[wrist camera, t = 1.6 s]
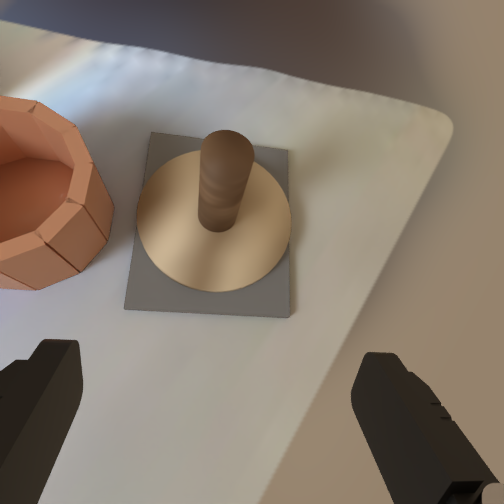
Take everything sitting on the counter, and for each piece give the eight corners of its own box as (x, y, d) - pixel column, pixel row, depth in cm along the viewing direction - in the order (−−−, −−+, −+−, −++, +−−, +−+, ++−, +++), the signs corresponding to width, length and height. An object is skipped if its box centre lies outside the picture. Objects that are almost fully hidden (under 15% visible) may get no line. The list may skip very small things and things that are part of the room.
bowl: (-77, 283, 22) (-171, 255, 16) (-26, 145, 25) (-87, 83, 20) (98, 294, 23) (69, 271, 18) (122, 163, 27) (104, 110, 21)
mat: (125, 309, 23) (123, 308, 23) (152, 136, 28) (151, 132, 28) (287, 318, 25) (290, 317, 25) (285, 154, 30) (287, 150, 30)
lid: (126, 287, 23) (92, 244, 15) (149, 146, 27) (131, 53, 19) (289, 297, 25) (337, 264, 17) (287, 164, 29) (325, 85, 21)
